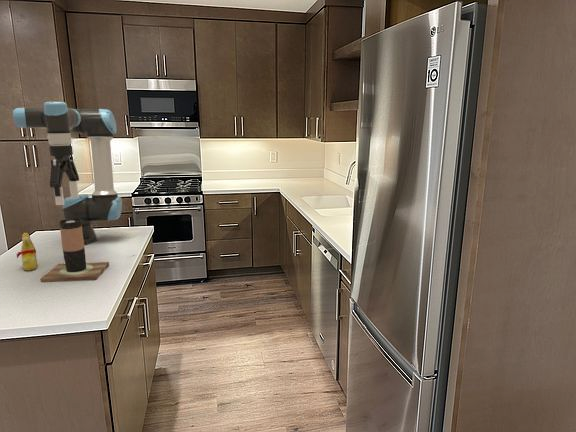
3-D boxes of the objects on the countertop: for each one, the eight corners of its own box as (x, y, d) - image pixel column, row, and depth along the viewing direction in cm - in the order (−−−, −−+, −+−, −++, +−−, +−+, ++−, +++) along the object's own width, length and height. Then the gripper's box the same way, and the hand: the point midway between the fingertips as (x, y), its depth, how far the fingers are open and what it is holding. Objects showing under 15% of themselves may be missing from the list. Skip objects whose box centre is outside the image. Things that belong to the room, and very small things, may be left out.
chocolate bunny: (38, 262, 176) (33, 228, 172) (37, 270, 166) (32, 234, 163) (19, 264, 172) (14, 230, 169) (17, 273, 163) (11, 237, 159)
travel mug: (78, 273, 158) (71, 223, 153) (61, 272, 160) (54, 222, 155) (91, 266, 165) (85, 218, 161) (74, 265, 167) (68, 217, 162)
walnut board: (59, 267, 170) (58, 263, 169) (109, 265, 172) (108, 261, 171) (40, 282, 154) (40, 277, 154) (96, 279, 156) (95, 275, 156)
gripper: (64, 142, 163) (70, 195, 168) (33, 147, 139) (42, 208, 144) (83, 142, 164) (89, 194, 169) (56, 147, 140) (64, 207, 145)
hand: (67, 201), depth 156 cm, fingers open, 13 cm apart
